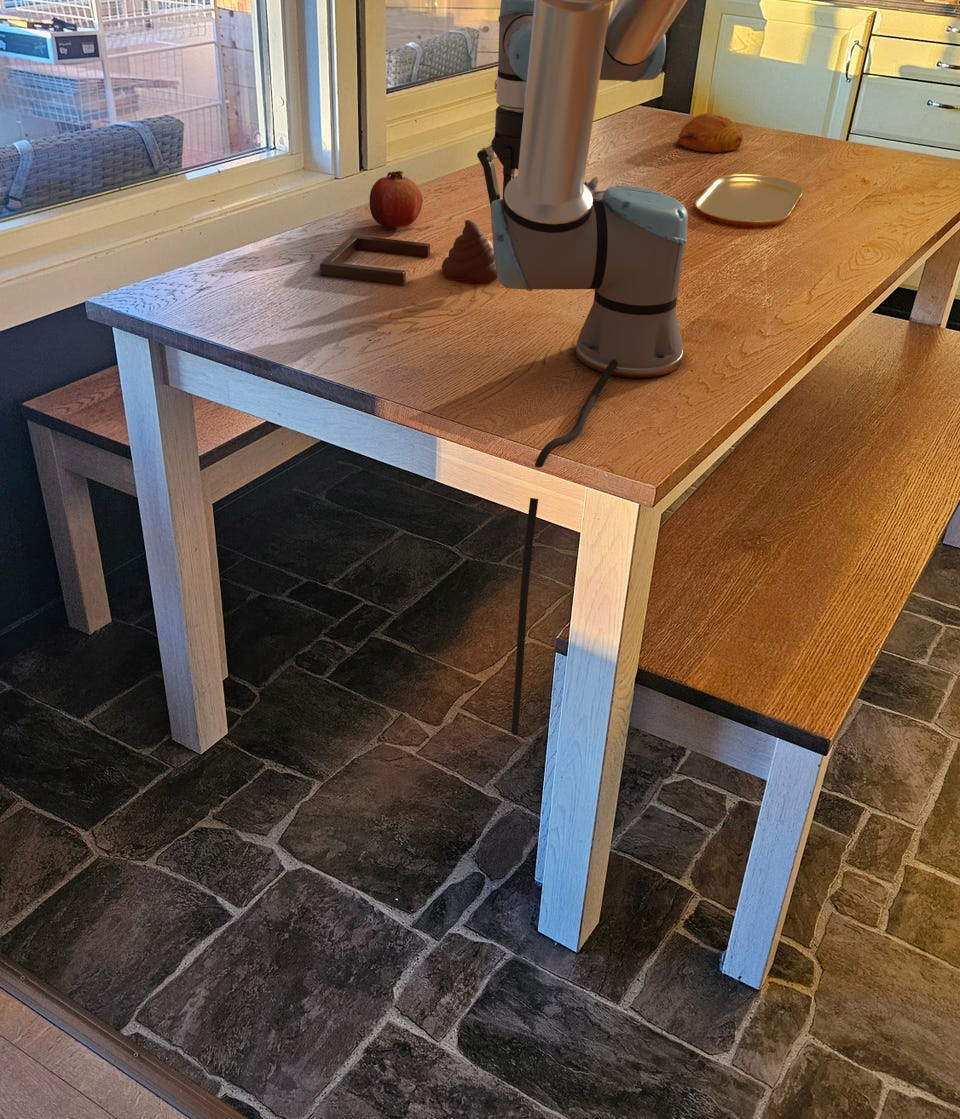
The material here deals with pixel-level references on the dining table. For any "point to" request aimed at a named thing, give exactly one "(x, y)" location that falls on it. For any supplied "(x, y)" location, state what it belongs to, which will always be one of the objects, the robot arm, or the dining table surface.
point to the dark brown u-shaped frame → (338, 269)
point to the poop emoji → (471, 257)
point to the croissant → (710, 134)
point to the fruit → (395, 200)
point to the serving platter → (749, 200)
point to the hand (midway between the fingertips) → (512, 256)
